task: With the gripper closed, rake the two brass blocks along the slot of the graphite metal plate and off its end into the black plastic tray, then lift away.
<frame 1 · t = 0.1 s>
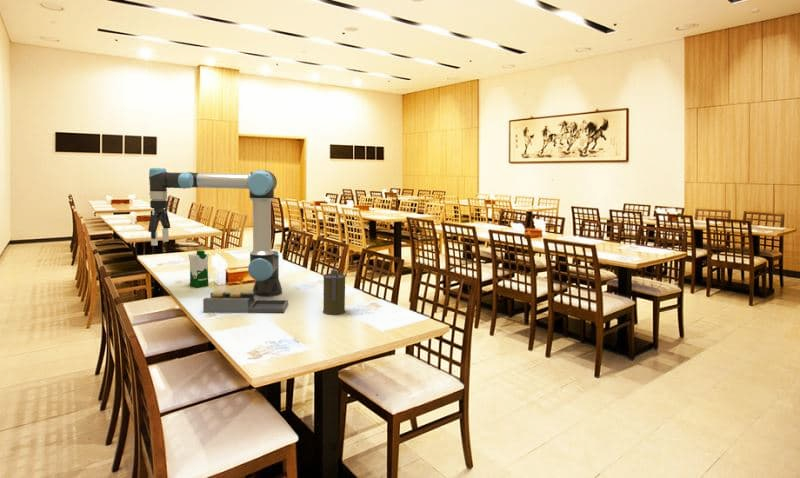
hand: (160, 243, 245), 28 cm above the table, tool pointing down, fingers open, 13 cm apart
brass block B: (236, 302, 236), point 3 cm above the table, touching slot plate
slot plate: (229, 308, 236), on the table
brass block A: (218, 302, 235), point 3 cm above the table, touching slot plate
milk carton: (199, 286, 278), on the table
canister: (334, 312, 235), on the table
tray: (268, 308, 237), on the table
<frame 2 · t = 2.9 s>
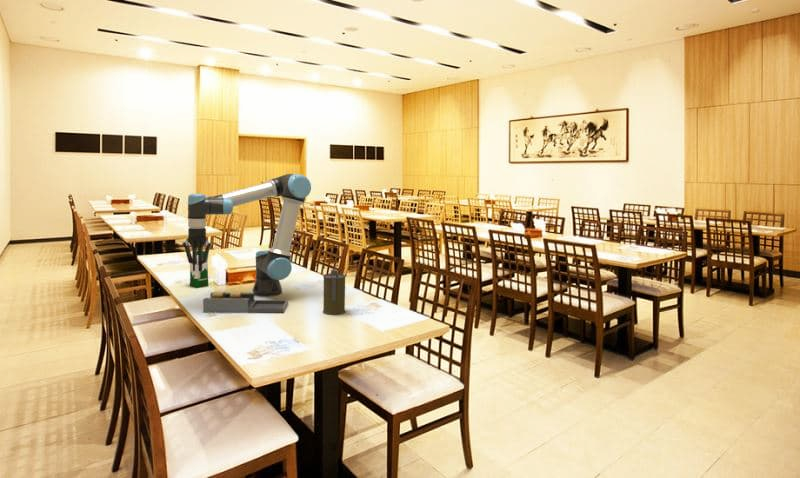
hand: (197, 278, 233), 14 cm above the table, tool pointing down, fingers closed
nothing on the table moved.
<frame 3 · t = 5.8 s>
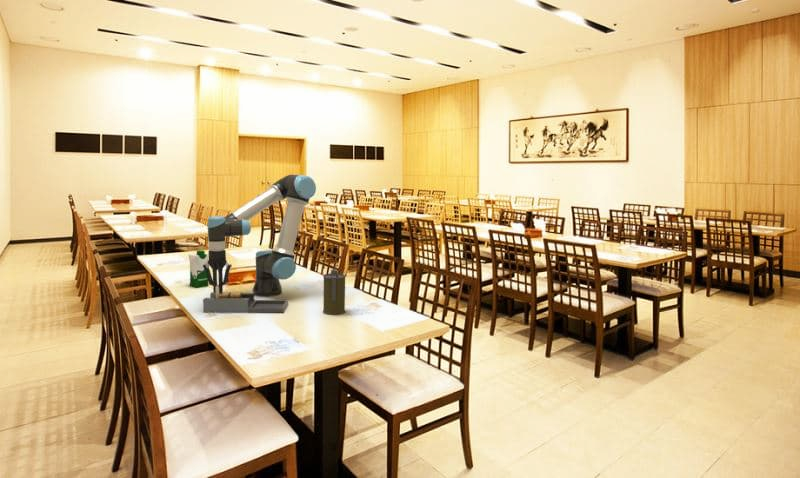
hand: (218, 299, 235), 4 cm above the table, tool pointing down, fingers closed
brass block A: (224, 302, 235), point 3 cm above the table, touching gripper
everything else where it was.
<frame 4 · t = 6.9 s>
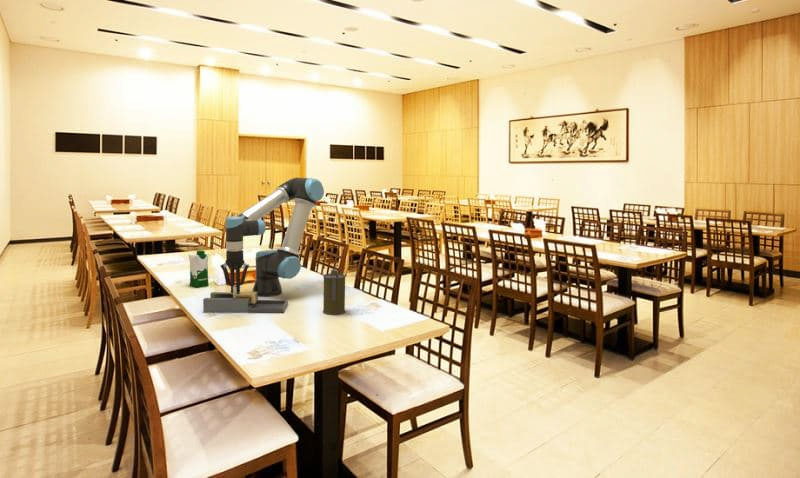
hand: (235, 299, 236), 4 cm above the table, tool pointing down, fingers closed
brass block B: (251, 302, 236), point 3 cm above the table
brass block A: (241, 302, 236), point 3 cm above the table, touching gripper
everything else where it was.
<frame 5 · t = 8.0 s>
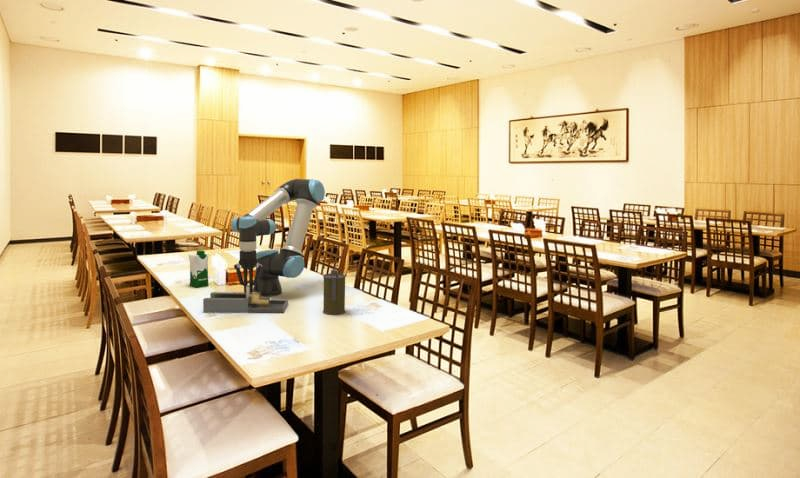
hand: (248, 299, 236), 4 cm above the table, tool pointing down, fingers closed
brass block B: (259, 302, 236), point 3 cm above the table, tilted 91°, touching brass block A, tray
brass block A: (254, 302, 236), point 3 cm above the table, touching brass block B
everything else where it was.
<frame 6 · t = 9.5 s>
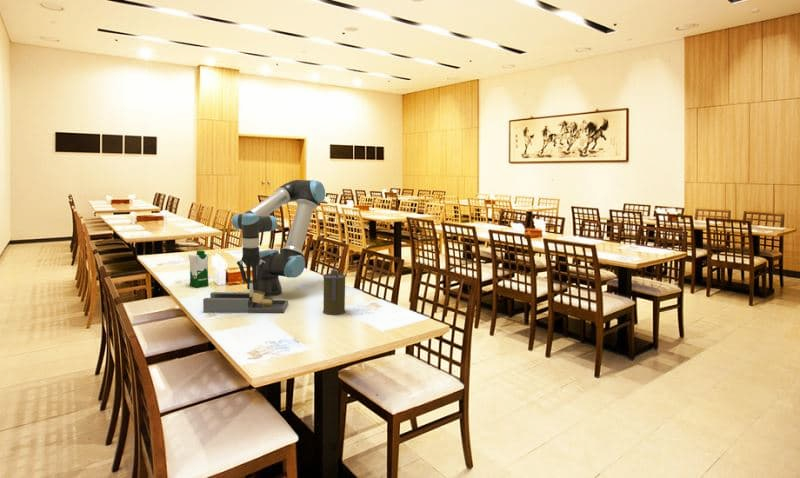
hand: (251, 296, 236), 6 cm above the table, tool pointing down, fingers closed
brass block B: (262, 302, 236), point 3 cm above the table, tilted 93°, touching brass block A, tray
brass block A: (257, 301, 236), point 3 cm above the table, tilted 13°, touching brass block B, gripper
everything else where it was.
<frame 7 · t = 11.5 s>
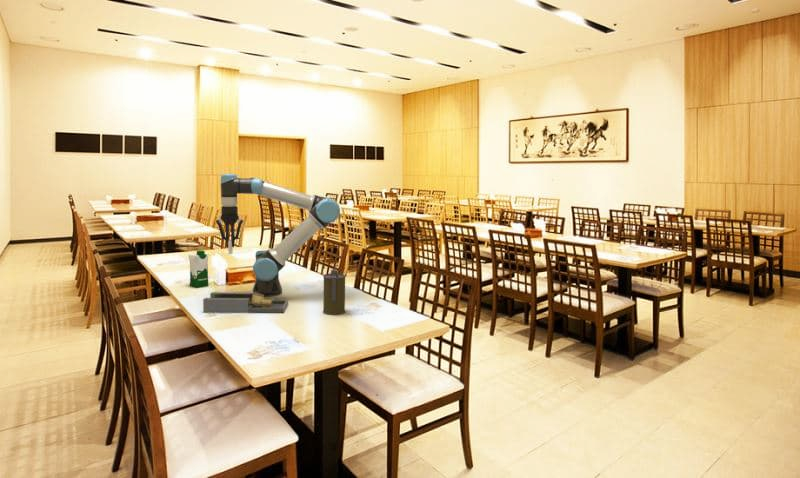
hand: (230, 253, 247), 24 cm above the table, tool pointing down, fingers closed
brass block A: (256, 303, 237), point 2 cm above the table, tilted 15°, touching brass block B, slot plate
everything else where it was.
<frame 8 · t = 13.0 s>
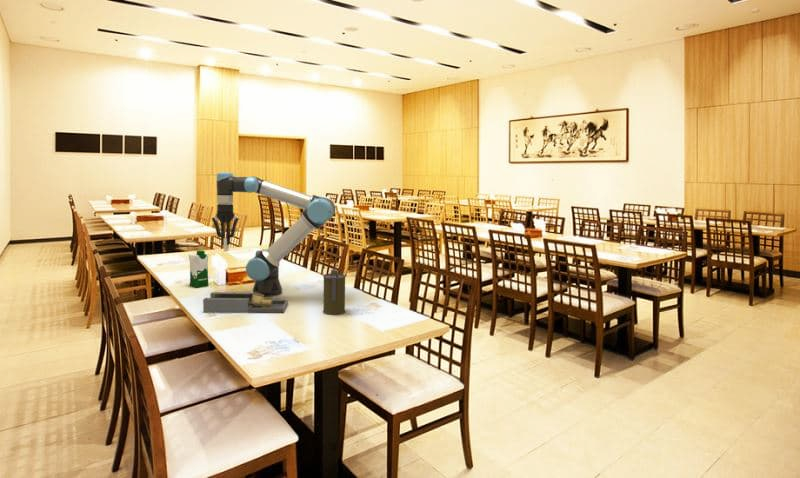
hand: (226, 251, 250), 24 cm above the table, tool pointing down, fingers closed
nothing on the table moved.
at the end: brass block A inside the target area on the tray (6.2 cm from its centre), point 2.4 cm above the tray's base; brass block B inside the target area on the tray (3.1 cm from its centre), point 2.8 cm above the tray's base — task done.
